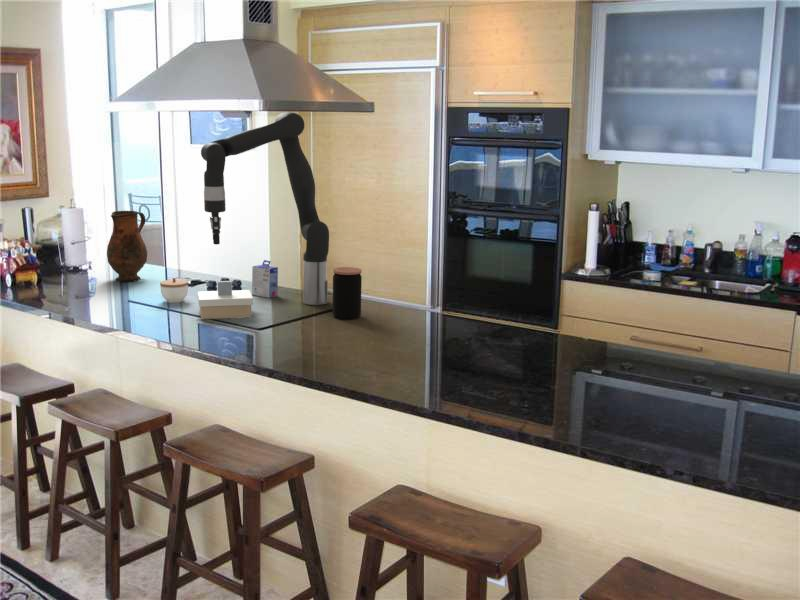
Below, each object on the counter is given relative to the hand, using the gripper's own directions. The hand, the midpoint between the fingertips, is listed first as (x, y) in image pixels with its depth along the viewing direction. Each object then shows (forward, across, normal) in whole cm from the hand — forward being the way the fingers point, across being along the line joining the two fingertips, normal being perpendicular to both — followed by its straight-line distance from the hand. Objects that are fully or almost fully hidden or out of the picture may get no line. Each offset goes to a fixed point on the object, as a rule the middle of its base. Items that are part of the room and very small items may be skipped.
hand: (216, 242), depth 300 cm
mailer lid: (+22, -4, -2) cm, 22 cm away
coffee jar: (+27, -14, -46) cm, 56 cm away
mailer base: (+26, -4, -2) cm, 27 cm away
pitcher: (+26, +66, +36) cm, 79 cm away
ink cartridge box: (+27, +26, -19) cm, 42 cm away
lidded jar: (+26, +20, +16) cm, 37 cm away
